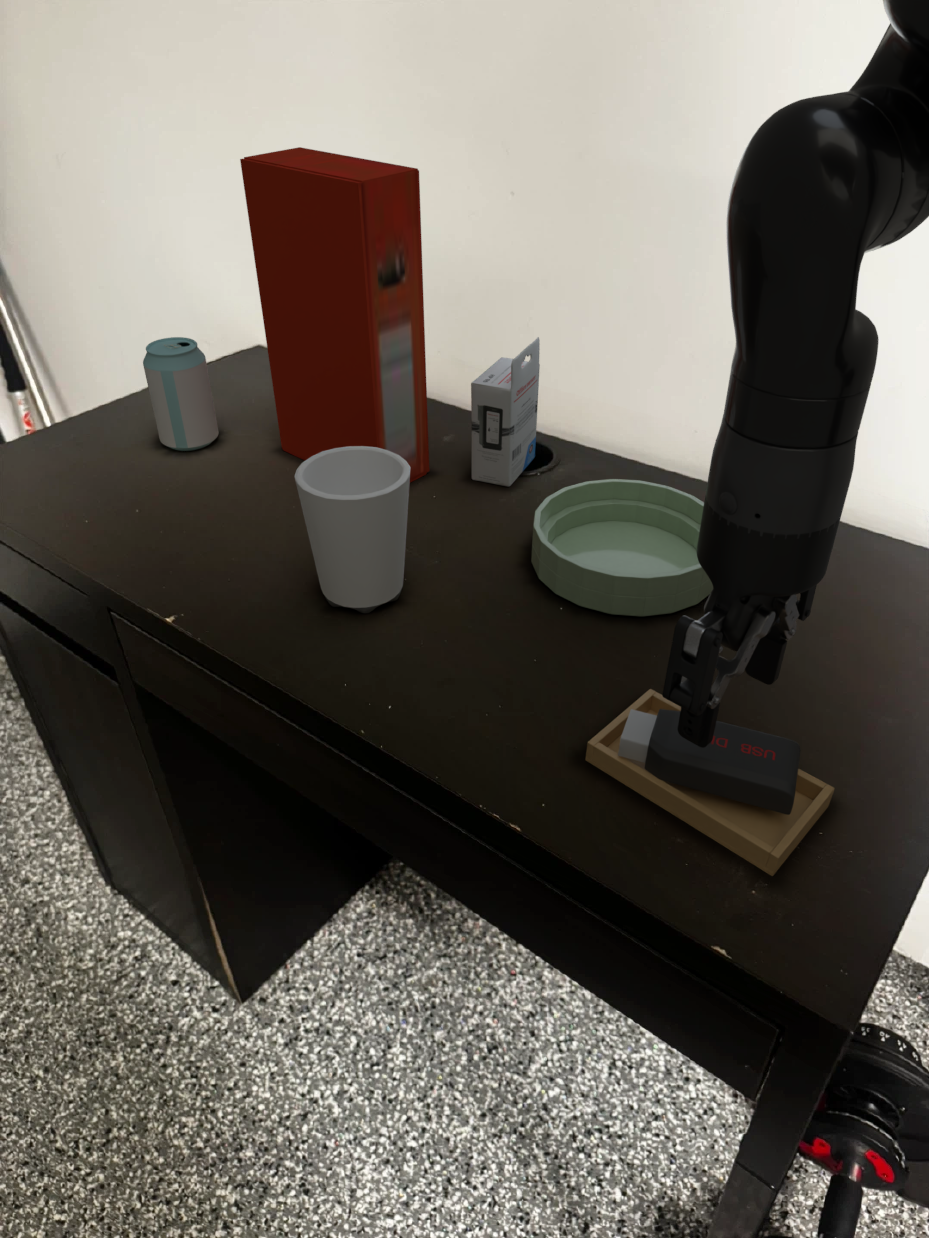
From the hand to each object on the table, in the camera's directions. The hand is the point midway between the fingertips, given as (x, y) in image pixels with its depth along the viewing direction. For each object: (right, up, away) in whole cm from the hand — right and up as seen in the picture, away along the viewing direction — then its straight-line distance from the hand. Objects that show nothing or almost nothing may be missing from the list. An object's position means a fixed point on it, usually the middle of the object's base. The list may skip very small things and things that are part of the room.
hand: (728, 707), depth 60 cm
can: (-52, +28, +49) cm, 77 cm away
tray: (-1, -6, +4) cm, 7 cm away
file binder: (-31, +24, +45) cm, 60 cm away
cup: (-28, +8, +23) cm, 37 cm away
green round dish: (-2, +11, +27) cm, 30 cm away
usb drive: (-1, -5, +3) cm, 5 cm away
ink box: (-13, +23, +43) cm, 51 cm away
